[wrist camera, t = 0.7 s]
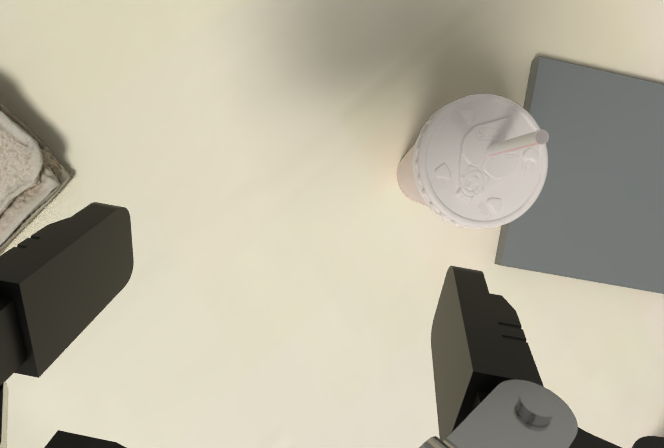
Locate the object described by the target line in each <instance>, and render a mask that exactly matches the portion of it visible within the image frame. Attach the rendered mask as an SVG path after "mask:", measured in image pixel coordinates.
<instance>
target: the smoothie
mask: <svg viewBox="0 0 664 448" xmlns="http://www.w3.org/2000/svg"><path fill="white" fill-rule="evenodd" d="M548 139H549V135H548V133H547V131H545V130H540V128H539V126H538V124H537V123H536V121H535V120H534V119H533V117H532V116H531V115H530V114H529V113H528V112H527V111H526V110H525V109H524V108H523V107H521V106H520V105H519V104H517V103H515V102H514V101H512V100H510V99H507V98H505V97H502V96H498V95H494V94H474V95H469V96H465V97H462V98H460V99H457V100H455V101H453V102H451V103H448V104H446V105H444V106H443V107H442V108H440V109H439V110H438V111H436V112H435V113H434V114H432V116H431V117H430V118H429V120H428V121H427V122H426V123H425V125H424V126H423V127H422V129H421V131H420V134H419V136H418V138H417V141H416V143H415V145H414V146H413V147H412V148H411V149H410V150H409V151H408V153H407V154H406V155H405V156H404V157H403V158H402V160H401V161H400V163H399V166H398V169H397V181H398V185H399V187H400V189H401V191H402V192H403V193H404V195H405V196H407V197H408V198H409V199H411V200H413V201H415V202H418V203H420V204H422V205H425V206H427V207H429V208H430V209H431V210H432V211H433V212H434V213H436V214H437V215H438V216H439V217H441V218H442V219H443V220H445V221H447V222H449V223H452V224H454V225H456V226H458V227H463V228H470V229H482V228H493V227H498V226H502V225H505V224H507V223H509V222H512V221H513V220H515V219H517V218H518V217H520V216H521V215H522V214H524V213H525V212H526V211H527V210H528V209H529V208H530V207H531V206H532V205H533V203H534V202H535V201H536V199H537V198H538V196H539V194H540V192H541V190H542V188H543V185H544V182H545V179H546V175H547V168H548V153H547V147H546V143H547V141H548Z"/></svg>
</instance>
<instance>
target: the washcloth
mask: <svg viewBox="0 0 664 448" xmlns="http://www.w3.org/2000/svg"><path fill="white" fill-rule="evenodd" d="M57 161H58V160H57V159H55V156H54V155H53V153H52V151H51V150H50V149H49V148H48V147H47V146H45V145H44V144H43V142H42V141H41V140H40V139H39V138H37V137H36V135H35V134H34V133H33V132H32V130H31V129H30V128H29V127H28V126H27V125H26V124H25V123H23V122H22V121H21V120H20V119H19V118H17V117H16V116H15V115H14V114H13V113H12V112H11V111H10V110H8V109H7V108H6V107H5V106H4V105H3V104H2V103H1V102H0V255H1V254H2V253H3V252H4V250H5V249H6V248H7V247H8V245H9V244H10V243H11V242H12V240H13V239H14V238H15V237H16V236H17V234H18V233H19V232H20V231H21V230H22V229H23V228H25V227H26V226H27V225H28V224H29V223H30V222H31V221H32V220H33V219H34V218H35V217H36V216H37V215H38V214H39V213H40V212H41V211H42V209H43V208H44V207H45V206H46V205H47V204H48V203H49V202H50V201H51V200H52V199H53V198H54V197H55V196H56V195H57V194H58V193H59V191H60V190H61V189H62V188H64V186H65V185H66V184H67V183H68V182H69V181H70V179H71V177H70V174H69V172H67V171H66V170H65V168H64V166H62V165H61V164H59V163H58V162H57Z"/></svg>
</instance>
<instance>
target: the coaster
mask: <svg viewBox="0 0 664 448" xmlns="http://www.w3.org/2000/svg"><path fill="white" fill-rule="evenodd" d="M524 109H525V110H526V111H527V112H528V113H529V114H530V115H531V116H532V117H533V119H534V120H535V121H536V123H537V124H538V126H539V128H540V130H545V131H547V133H548V135H549V139H548V141H547V143H546V147H547V153H548V168H547V175H546V179H545V182H544V185H543V188H542V190H541V192H540V194H539V196H538V198H537V199H536V201H535V202H534V203H533V205H532V206H531V207H530V208H529V209H528V210H527V211H526V212H525V213H524V214H522V215H521V216H520V217H518V218H517V219H515V220H513V221H512V222H509V223H507V224H505V225H502V227H501V232H500V238H499V243H498V248H497V254H496V259H495V264H498V265H502V266H508V267H513V268H519V269H525V270H530V271H536V272H542V273H548V274H553V275H559V276H565V277H570V278H576V279H582V280H588V281H593V282H599V283H605V284H611V285H616V286H622V287H628V288H633V289H639V290H645V291H651V292H656V293H662V294H664V85H663V84H659V83H655V82H650V81H646V80H641V79H637V78H633V77H628V76H624V75H619V74H615V73H610V72H606V71H602V70H597V69H593V68H588V67H584V66H580V65H575V64H571V63H566V62H562V61H558V60H553V59H549V58H544V57H539V58H537V59H535V60H533V61H532V65H531V70H530V76H529V81H528V87H527V92H526V97H525V103H524Z"/></svg>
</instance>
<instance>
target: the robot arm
mask: <svg viewBox="0 0 664 448" xmlns="http://www.w3.org/2000/svg"><path fill="white" fill-rule="evenodd" d="M132 270H133V248H132V235H131V221H130V214H129V211H128V210H127V209H126V208H124V207H120V206H114V205H108V204H103V203H97V202H94V203H91V204H90V205H88V206H87V207H85V208H84V209H82V210H81V211H79V212H78V213H76V214H75V215H73V216H72V217H69V218H66V219H63V220H61V221H58V222H55V223H52V224H49V225H47V226H45V227H44V228H42V229H41V230H39V231H38V232H36V233H35V234H33V235H32V236H31V238H27V239H25V240H24V241H22V242H21V243H19V244H18V246H17V247H13V248H12V249H10V250H9V251H7V252H5V253H4V254H2V255H1V256H0V448H7V422H8V387H7V383H6V380H7V379H8V378H9V377H10V376H11V375H12V374H13V373H18V374H23V375H28V376H33V377H38V378H39V377H40V376H41V375H42V374H43V372H44V371H45V370H46V369H47V368H48V367H49V366H50V365H51V364H52V363H53V362H54V361H55V360H56V359H57V358H58V357H59V356H60V354H61V353H62V352H63V351H64V350H65V349H66V348H67V347H68V346H69V345H70V344H71V343H72V342H73V341H74V340H75V339H76V338H77V336H78V335H79V334H80V333H81V332H82V331H83V330H84V329H85V328H86V327H87V326H88V325H89V324H90V323H91V322H92V321H93V320H94V318H95V317H96V316H97V315H98V314H99V313H100V312H101V311H102V310H103V309H104V308H105V307H106V306H107V305H108V304H109V303H110V301H111V300H112V299H113V298H114V297H115V296H116V295H117V294H118V293H119V292H120V291H121V290H122V289H123V288H124V287H125V285H126V284H127V283H128V281H129V279H130V277H131V274H132ZM431 348H432V359H433V370H434V381H435V392H436V403H437V414H438V425H439V436H440V439H439V438H438V437H436V436H434V437H431V438H430V439H428V440H427V441H426V442H425V443H424V444H423V445H422V446H421V447H420V448H621V447H619V446H617V445H615V444H612V443H610V442H608V441H605V440H603V439H601V438H599V437H596V436H594V435H592V434H590V433H588V432H586V431H584V430H582V429H580V428H579V427H578V425H577V421H576V418H575V416H574V414H573V412H572V410H571V409H570V408H569V407H568V405H567V404H566V403H565V402H564V401H563V400H562V399H561V398H560V397H558V396H557V395H556V394H554V393H553V392H551V391H550V390H548V389H546V388H545V387H544V386H543V383H542V381H541V378H540V375H539V373H538V370H537V367H536V364H535V362H534V359H533V356H532V354H531V351H530V348H529V345H528V343H526V337H525V335H524V332H523V329H521V324H520V321H519V318H518V316H517V313H516V311H515V309H514V308H513V307H512V306H511V305H510V304H509V303H508V302H507V301H506V300H505V299H504V298H503V296H500V295H495V294H489V291H488V287H487V284H486V281H485V278H484V274H483V272H482V271H477V270H472V269H466V268H461V267H455V266H450V267H449V269H448V271H447V274H446V277H445V281H444V284H443V288H442V291H441V295H440V298H439V302H438V305H437V309H436V312H435V316H434V320H433V325H432V332H431ZM45 448H126V447H124V446H122V445H120V444H118V443H116V442H112V441H107V440H102V439H97V438H92V437H88V436H83V435H78V434H73V433H68V432H64V431H59V430H58V431H57V432H56V434H55V435H54V436H53V437H52V439H51V440H50V441H49V443H48V444H47V445H46V446H45ZM632 448H664V438H663V437H657V436H646V437H642V438H640V439H638V440H637V441H636V442H635V443H634V445H633V447H632Z"/></svg>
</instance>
